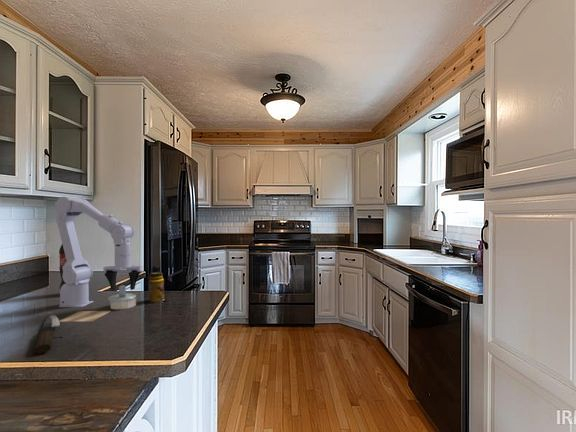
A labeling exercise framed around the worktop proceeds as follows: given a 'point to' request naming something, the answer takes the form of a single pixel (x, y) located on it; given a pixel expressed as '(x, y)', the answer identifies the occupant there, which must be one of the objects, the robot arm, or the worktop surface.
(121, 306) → the bowl
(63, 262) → the cola bottle
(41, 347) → the kitchen knife
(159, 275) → the condiment
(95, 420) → the worktop surface
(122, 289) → the lid
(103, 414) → the worktop surface
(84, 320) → the mat
